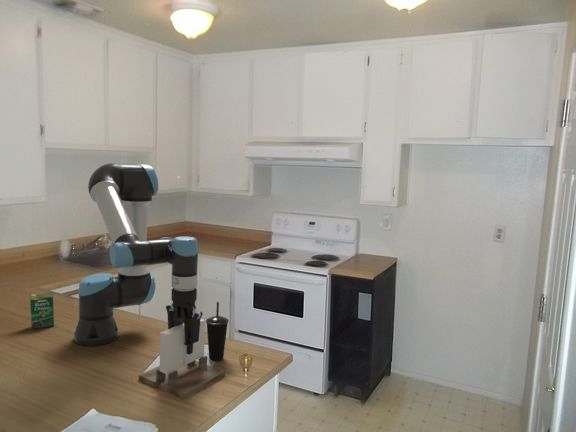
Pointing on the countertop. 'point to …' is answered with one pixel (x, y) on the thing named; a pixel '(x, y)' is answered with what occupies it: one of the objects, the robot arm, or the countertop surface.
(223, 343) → the drinking cup
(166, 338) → the door panel
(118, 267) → the robot arm
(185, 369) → the clip board
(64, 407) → the countertop surface
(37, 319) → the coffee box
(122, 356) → the countertop surface
